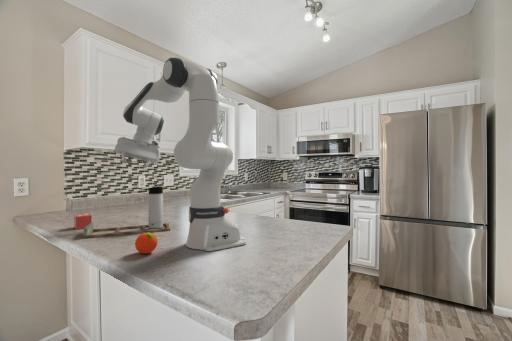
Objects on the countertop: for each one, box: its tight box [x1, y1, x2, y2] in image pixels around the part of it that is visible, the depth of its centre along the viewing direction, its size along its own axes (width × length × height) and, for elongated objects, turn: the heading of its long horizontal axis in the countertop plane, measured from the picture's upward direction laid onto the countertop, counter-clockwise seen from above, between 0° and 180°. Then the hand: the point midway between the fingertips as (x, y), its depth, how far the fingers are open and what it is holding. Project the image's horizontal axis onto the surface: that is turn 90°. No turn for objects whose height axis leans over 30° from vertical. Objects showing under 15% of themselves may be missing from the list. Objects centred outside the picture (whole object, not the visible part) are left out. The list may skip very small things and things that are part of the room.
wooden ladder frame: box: [83, 222, 171, 239], centre depth 112 cm, size 33×12×4 cm, turn 113°
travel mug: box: [148, 186, 164, 230], centre depth 116 cm, size 6×7×20 cm
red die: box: [73, 213, 92, 231], centre depth 118 cm, size 6×6×6 cm
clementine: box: [134, 232, 158, 255], centre depth 83 cm, size 8×7×7 cm
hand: (134, 164), depth 118 cm, fingers open, 8 cm apart
